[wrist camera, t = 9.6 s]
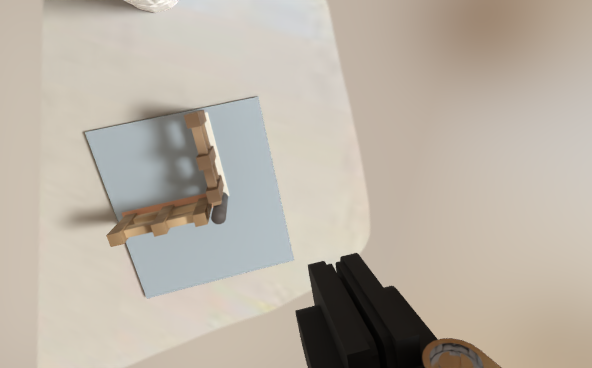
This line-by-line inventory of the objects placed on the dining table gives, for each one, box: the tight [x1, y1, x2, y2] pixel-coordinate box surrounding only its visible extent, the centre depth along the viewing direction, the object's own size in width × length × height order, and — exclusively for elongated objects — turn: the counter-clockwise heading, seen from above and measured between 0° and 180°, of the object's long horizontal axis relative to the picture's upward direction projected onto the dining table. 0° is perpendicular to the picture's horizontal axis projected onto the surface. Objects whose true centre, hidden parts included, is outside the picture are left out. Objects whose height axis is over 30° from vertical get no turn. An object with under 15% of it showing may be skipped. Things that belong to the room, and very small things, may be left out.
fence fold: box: [106, 197, 212, 247], centre depth 34 cm, size 9×1×6 cm, turn 101°
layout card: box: [85, 97, 294, 298], centre depth 38 cm, size 20×18×1 cm
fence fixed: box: [184, 110, 228, 224], centre depth 34 cm, size 10×1×7 cm, turn 11°
